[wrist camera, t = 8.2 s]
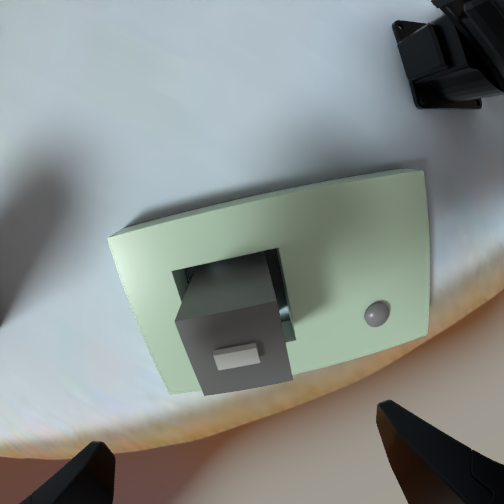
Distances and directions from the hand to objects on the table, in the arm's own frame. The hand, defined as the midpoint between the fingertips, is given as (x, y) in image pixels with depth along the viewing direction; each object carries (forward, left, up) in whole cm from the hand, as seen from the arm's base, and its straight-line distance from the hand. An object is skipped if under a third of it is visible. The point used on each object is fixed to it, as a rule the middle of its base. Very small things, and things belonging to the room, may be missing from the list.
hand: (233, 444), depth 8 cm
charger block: (0, 0, -12) cm, 12 cm away
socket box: (-3, 0, -12) cm, 12 cm away
